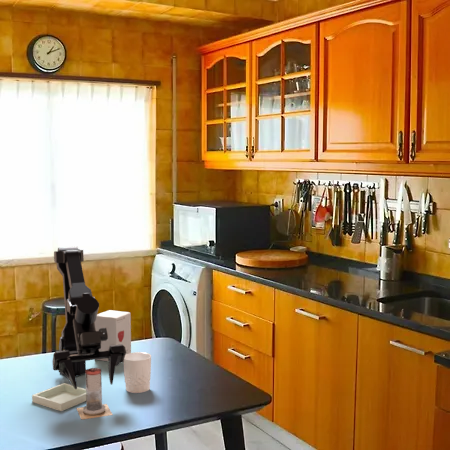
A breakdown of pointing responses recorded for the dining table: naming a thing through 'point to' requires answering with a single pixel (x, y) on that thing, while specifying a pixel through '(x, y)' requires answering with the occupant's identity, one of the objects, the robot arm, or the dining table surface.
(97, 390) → the clear shaker bottle
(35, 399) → the tray
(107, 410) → the keeper plate
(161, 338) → the dining table surface
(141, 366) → the white cup
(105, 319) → the supplement box
